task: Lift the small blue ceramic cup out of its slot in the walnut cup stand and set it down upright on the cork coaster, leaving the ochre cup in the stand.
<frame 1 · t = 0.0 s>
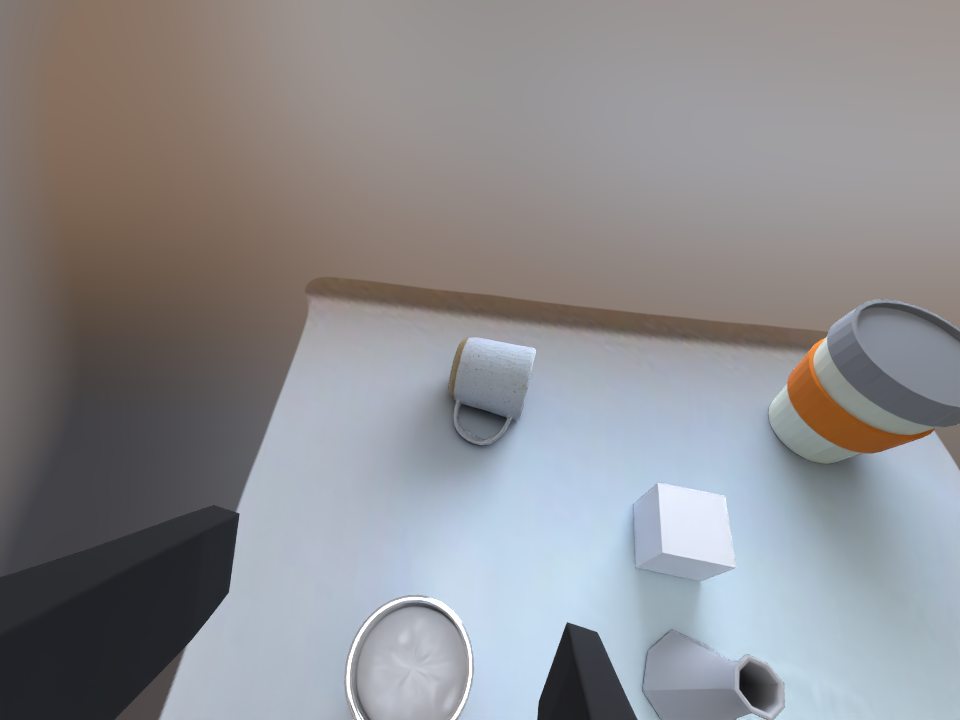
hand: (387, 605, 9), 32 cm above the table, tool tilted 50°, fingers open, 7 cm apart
white cube: (664, 541, 43), on the table
ceramic mug: (488, 405, 50), on the table
flask: (685, 685, 36), on the table
reusable coffee cup: (806, 427, 52), on the table
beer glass: (418, 671, 35), on the table
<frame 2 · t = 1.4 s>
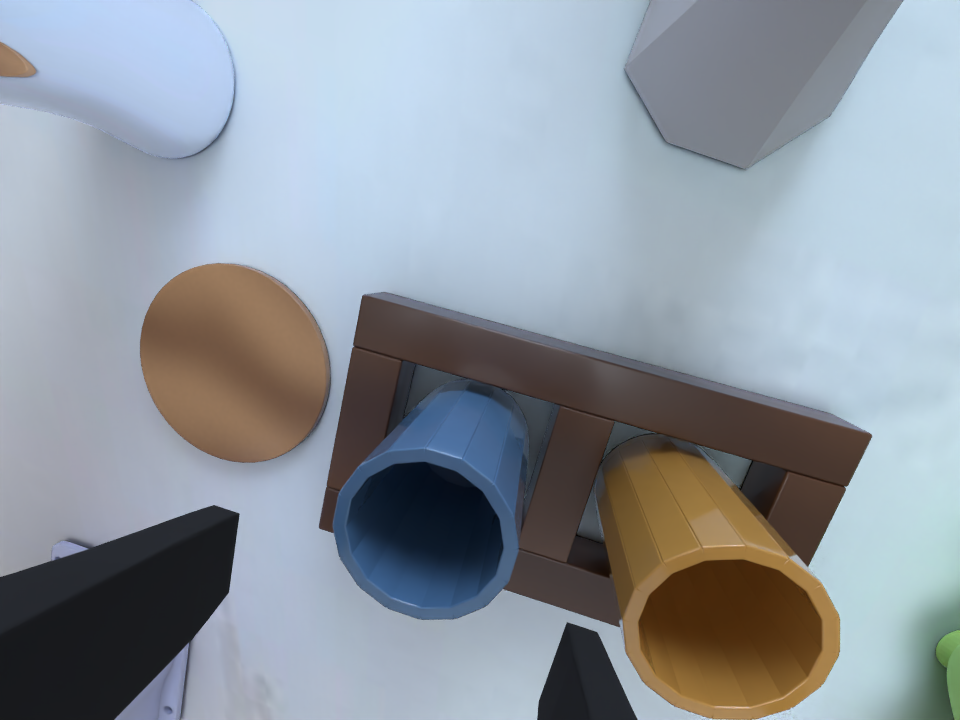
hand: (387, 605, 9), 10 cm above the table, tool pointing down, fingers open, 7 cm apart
coaster: (236, 365, 20), on the table
blue cup: (470, 435, 19), resting in cup holder
flask: (739, 53, 15), on the table
ochre cup: (656, 490, 18), resting in cup holder
cup holder: (561, 462, 19), on the table
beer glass: (171, 80, 18), on the table
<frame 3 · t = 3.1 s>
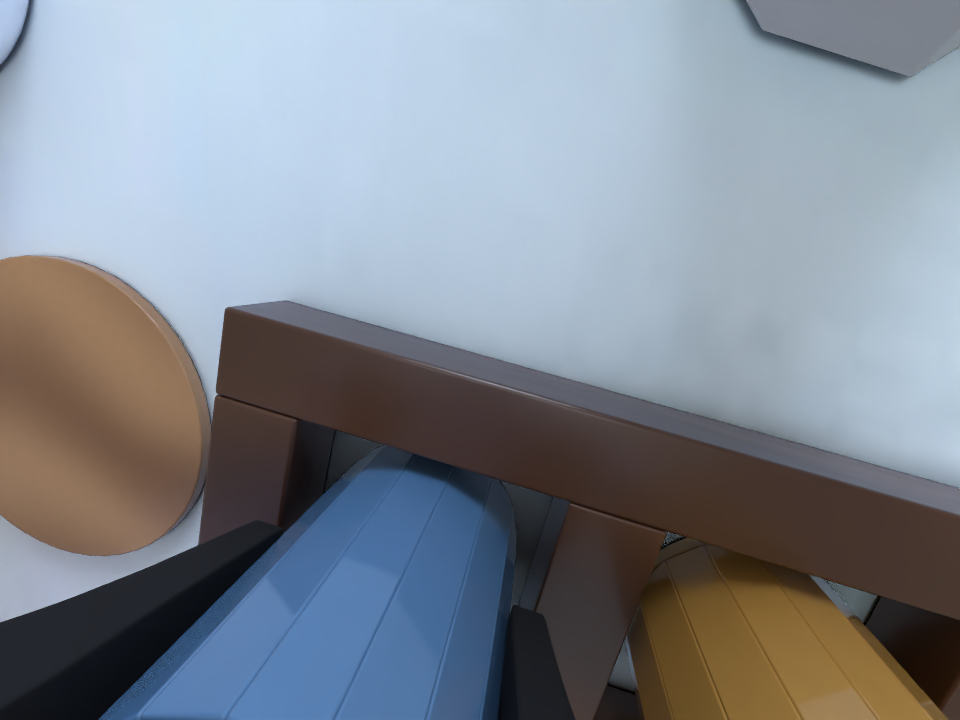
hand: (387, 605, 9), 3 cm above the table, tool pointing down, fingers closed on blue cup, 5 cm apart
coaster: (74, 412, 13), on the table
blue cup: (425, 524, 12), resting in cup holder, touching gripper
ochre cup: (722, 619, 11), resting in cup holder
cup holder: (570, 570, 12), on the table
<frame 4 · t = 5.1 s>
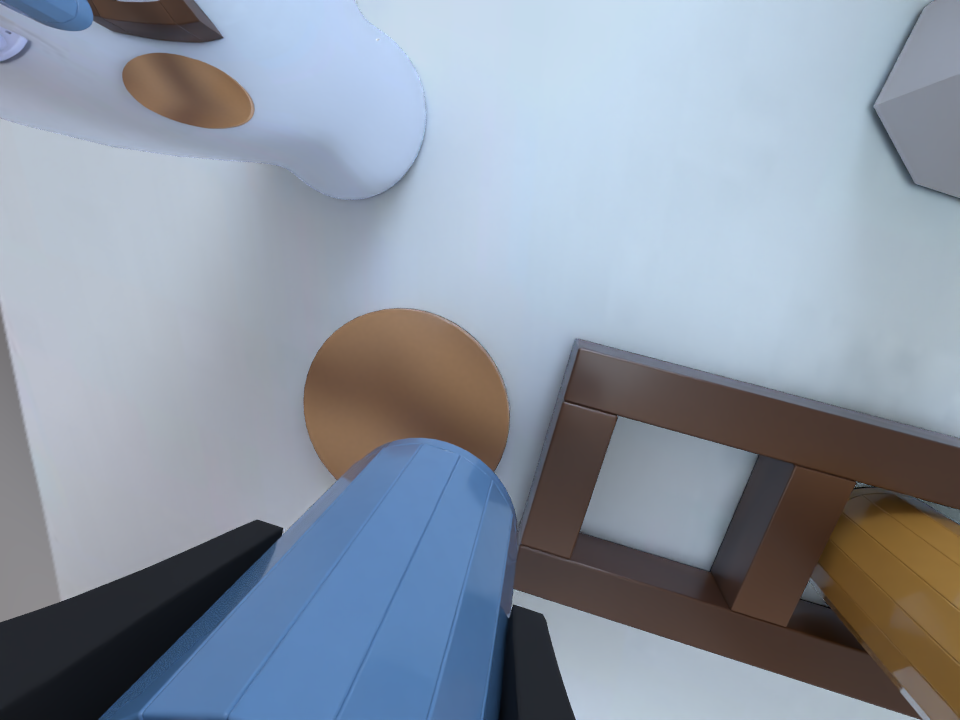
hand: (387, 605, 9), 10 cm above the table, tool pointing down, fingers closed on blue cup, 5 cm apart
coaster: (405, 412, 19), on the table
blue cup: (425, 523, 12), point 7 cm above the table, touching gripper
ochre cup: (866, 546, 17), resting in cup holder
cup holder: (761, 515, 18), on the table
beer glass: (352, 118, 17), on the table
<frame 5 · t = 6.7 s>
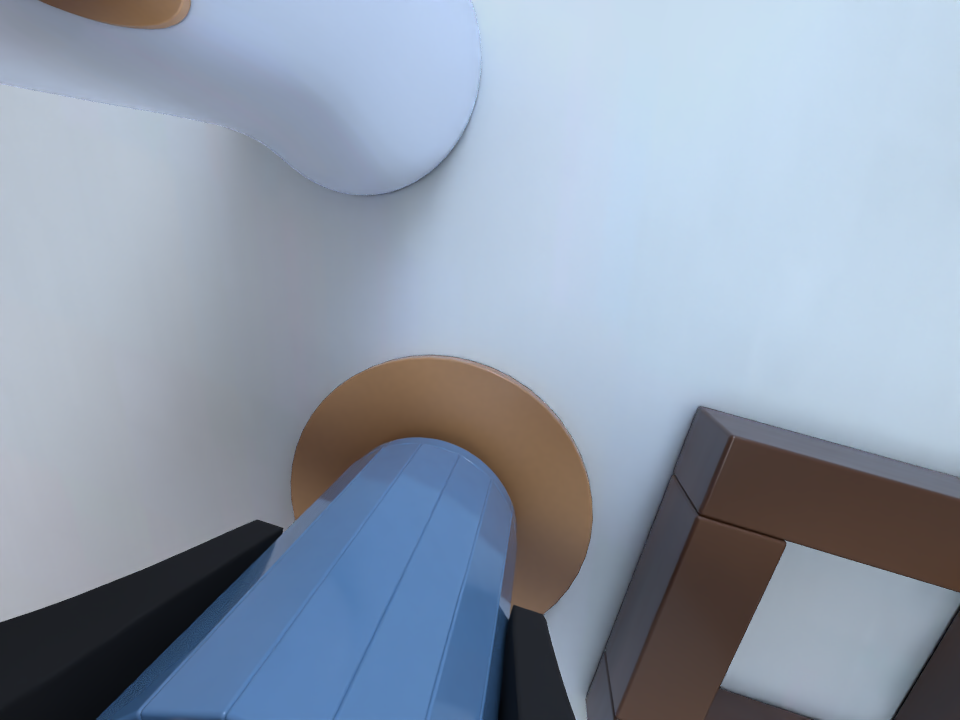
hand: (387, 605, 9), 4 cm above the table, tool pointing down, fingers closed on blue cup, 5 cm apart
coaster: (437, 502, 13), on the table
blue cup: (425, 523, 12), point 1 cm above the table, touching gripper
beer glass: (366, 72, 11), on the table
when the fingers open (3 cm above the table, at t = 7.5 s): blue cup stays where it is, resting on coaster.
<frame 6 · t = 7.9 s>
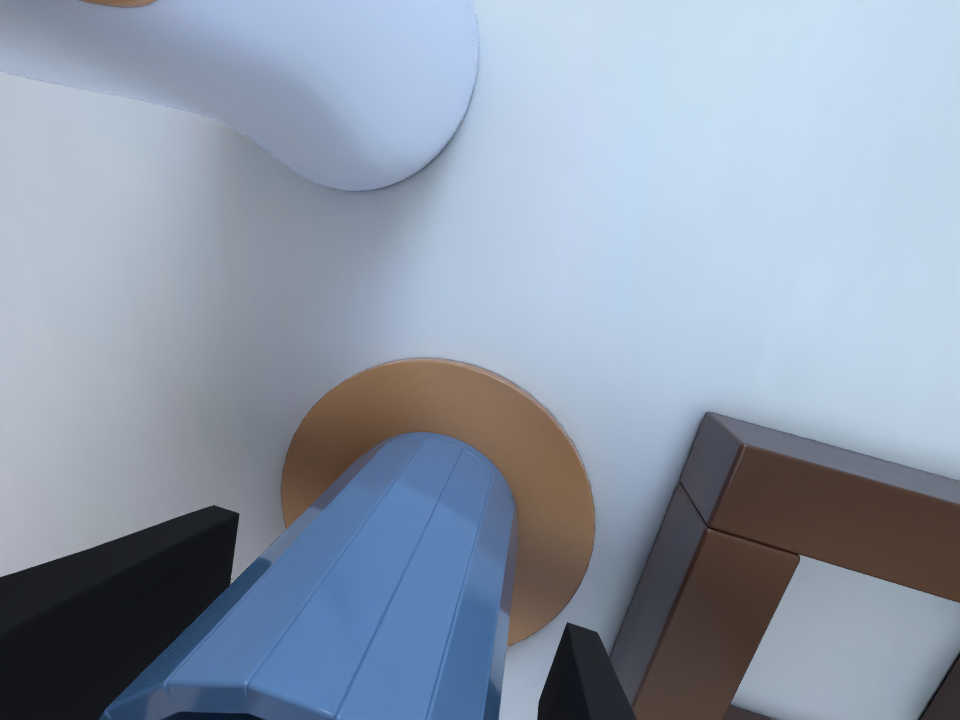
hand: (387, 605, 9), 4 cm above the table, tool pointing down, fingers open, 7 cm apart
coaster: (433, 510, 13), on the table
blue cup: (428, 516, 12), resting on coaster
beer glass: (358, 62, 11), on the table
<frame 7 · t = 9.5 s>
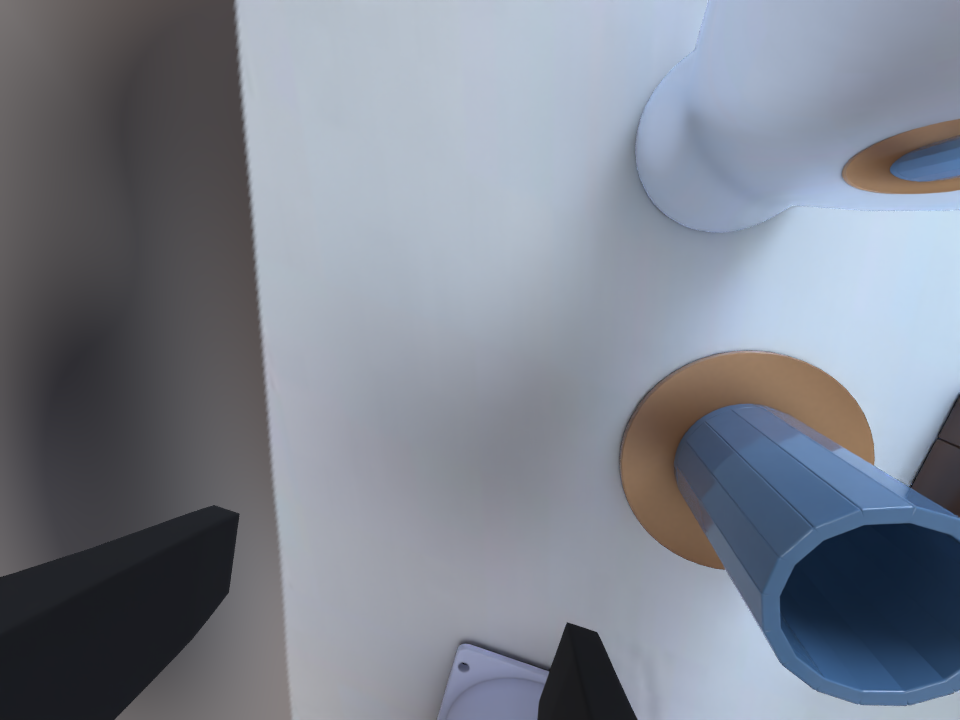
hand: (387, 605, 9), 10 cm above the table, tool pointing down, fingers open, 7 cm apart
coaster: (738, 462, 17), on the table
blue cup: (742, 465, 17), resting on coaster
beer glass: (723, 143, 16), on the table
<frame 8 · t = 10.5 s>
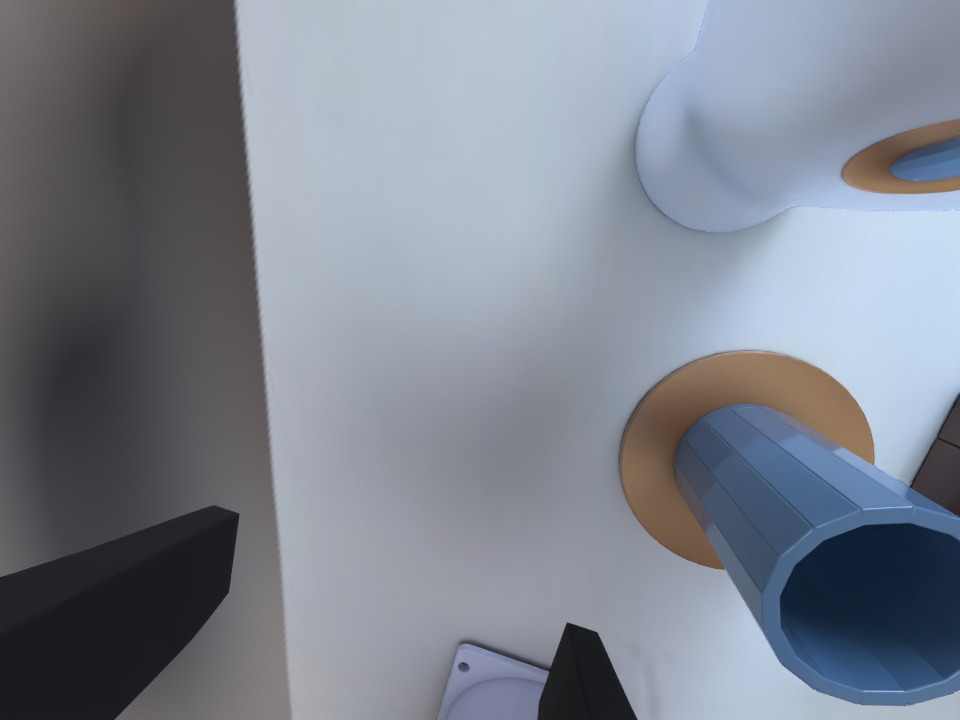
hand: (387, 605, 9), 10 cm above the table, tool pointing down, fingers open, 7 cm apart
coaster: (738, 462, 17), on the table
blue cup: (742, 465, 17), resting on coaster
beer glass: (723, 143, 16), on the table
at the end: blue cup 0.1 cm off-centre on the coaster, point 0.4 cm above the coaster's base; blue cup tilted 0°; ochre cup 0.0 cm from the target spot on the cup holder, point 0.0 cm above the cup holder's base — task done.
